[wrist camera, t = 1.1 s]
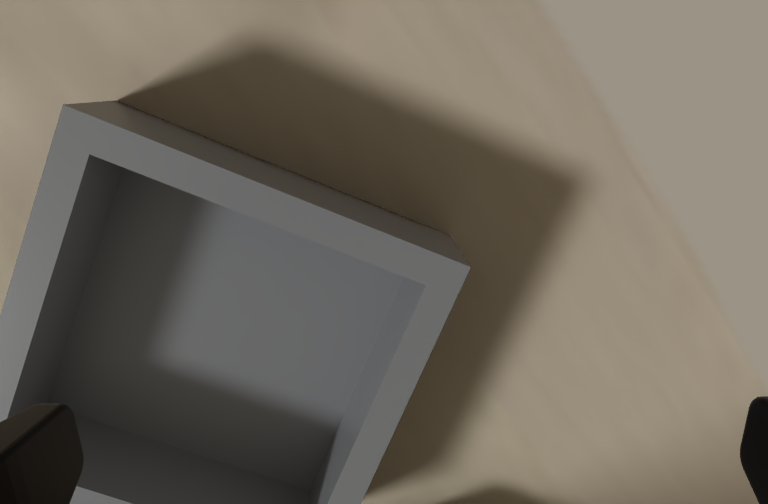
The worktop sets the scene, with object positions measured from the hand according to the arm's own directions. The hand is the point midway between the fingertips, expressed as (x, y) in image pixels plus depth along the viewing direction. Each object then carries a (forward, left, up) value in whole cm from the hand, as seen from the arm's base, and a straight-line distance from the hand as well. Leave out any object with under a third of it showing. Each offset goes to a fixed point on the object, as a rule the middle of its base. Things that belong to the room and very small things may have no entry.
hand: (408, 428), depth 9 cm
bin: (-6, +3, -14) cm, 16 cm away
